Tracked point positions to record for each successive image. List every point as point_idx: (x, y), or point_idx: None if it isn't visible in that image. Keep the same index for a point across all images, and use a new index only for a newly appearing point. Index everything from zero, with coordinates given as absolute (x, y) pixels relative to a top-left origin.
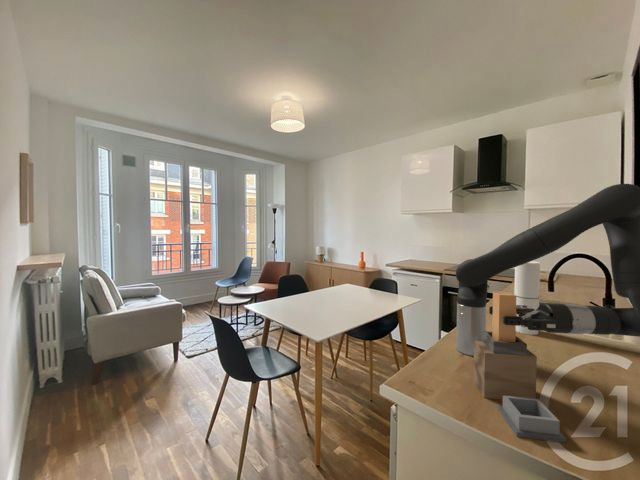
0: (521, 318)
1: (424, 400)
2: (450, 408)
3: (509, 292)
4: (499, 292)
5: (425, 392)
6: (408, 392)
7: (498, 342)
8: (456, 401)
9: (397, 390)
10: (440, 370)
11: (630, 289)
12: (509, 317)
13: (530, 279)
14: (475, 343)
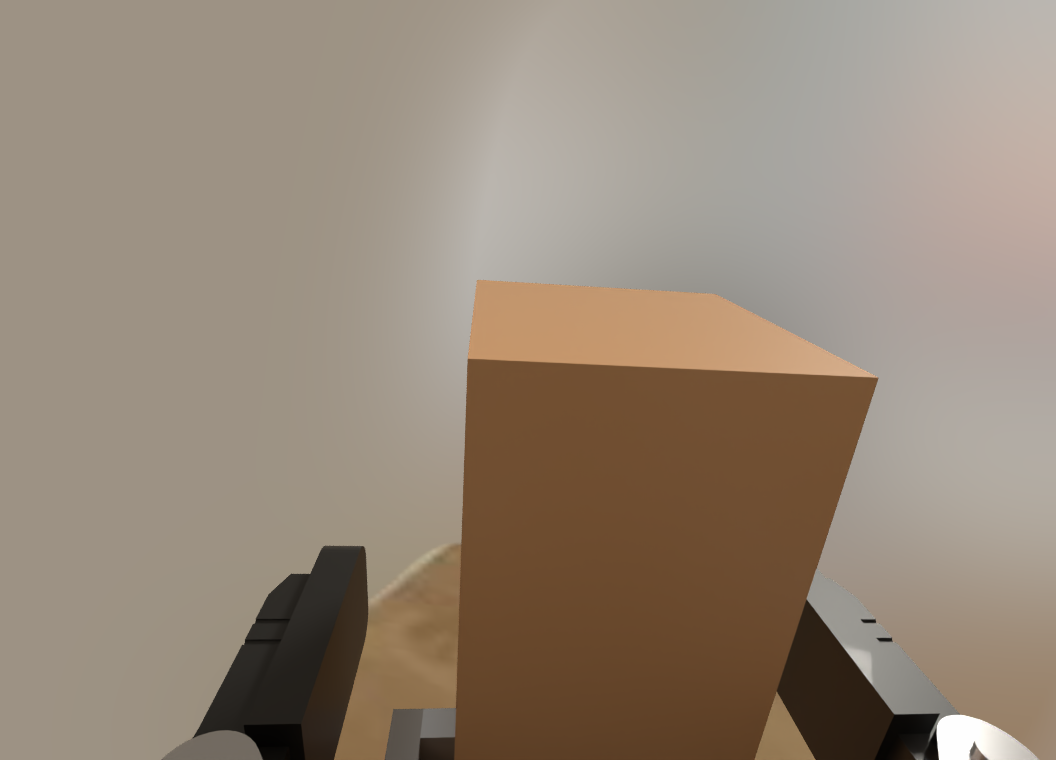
0: (220, 748)
1: (375, 622)
2: None
3: (824, 370)
4: (688, 308)
5: (429, 633)
6: (423, 584)
7: (386, 750)
8: (366, 739)
9: (432, 558)
10: None
11: None
12: (305, 588)
13: None
14: None
